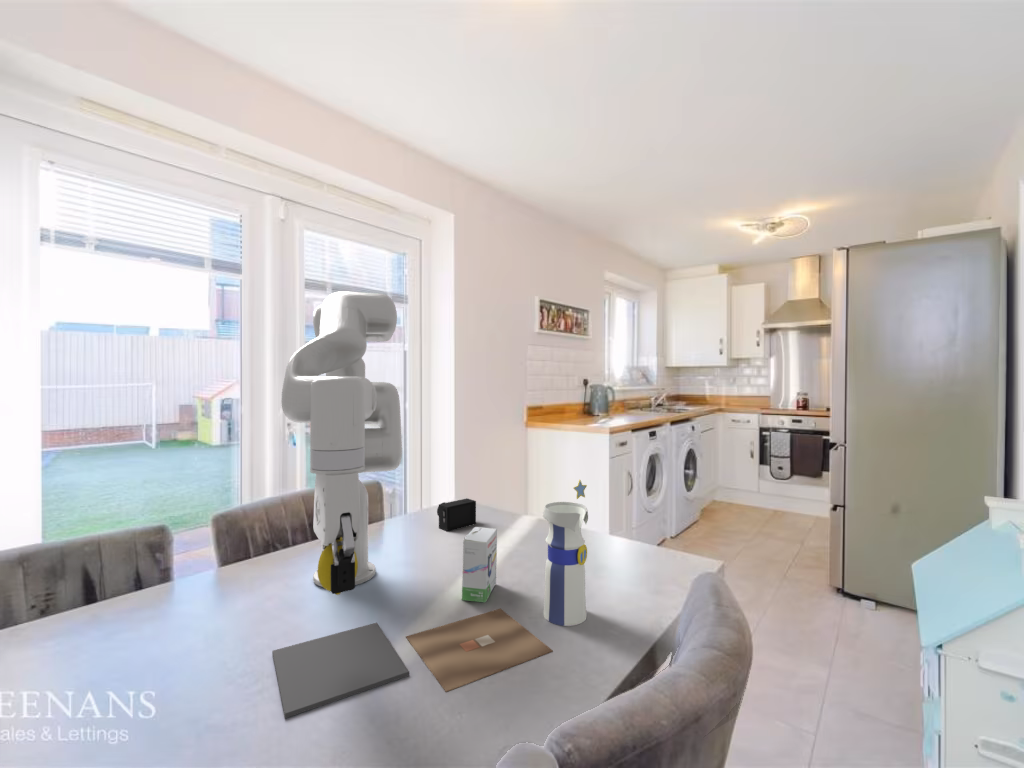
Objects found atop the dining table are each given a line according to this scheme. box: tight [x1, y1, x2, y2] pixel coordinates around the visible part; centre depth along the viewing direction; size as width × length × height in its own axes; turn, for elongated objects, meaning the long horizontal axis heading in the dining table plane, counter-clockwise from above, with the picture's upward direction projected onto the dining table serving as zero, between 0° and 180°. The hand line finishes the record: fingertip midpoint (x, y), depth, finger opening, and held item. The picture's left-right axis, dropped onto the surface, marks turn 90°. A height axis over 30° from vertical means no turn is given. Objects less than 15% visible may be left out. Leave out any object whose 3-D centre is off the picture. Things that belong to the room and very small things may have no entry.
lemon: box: [317, 540, 358, 596], centre depth 69 cm, size 6×6×8 cm
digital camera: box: [436, 498, 477, 533], centre depth 136 cm, size 10×5×7 cm, turn 133°
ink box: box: [461, 526, 498, 603], centre depth 93 cm, size 9×5×12 cm, turn 168°
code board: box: [405, 608, 554, 693], centre depth 75 cm, size 16×18×1 cm
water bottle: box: [542, 479, 589, 627], centre depth 84 cm, size 8×9×25 cm
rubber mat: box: [271, 622, 410, 719], centre depth 69 cm, size 16×16×1 cm
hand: (338, 581), depth 69 cm, fingers closed on lemon, 5 cm apart
